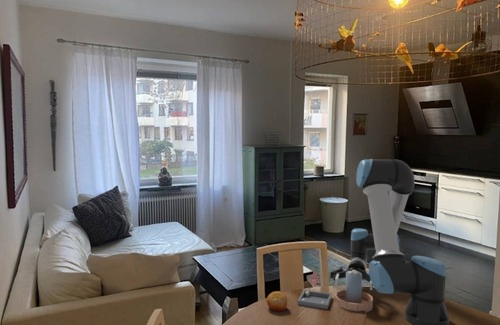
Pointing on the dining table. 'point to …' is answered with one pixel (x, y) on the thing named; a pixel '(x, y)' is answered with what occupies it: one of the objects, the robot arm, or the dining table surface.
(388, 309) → the dining table surface
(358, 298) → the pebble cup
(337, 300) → the bowl
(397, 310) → the dining table surface
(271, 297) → the fruit
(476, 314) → the dining table surface
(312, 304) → the parts tray
